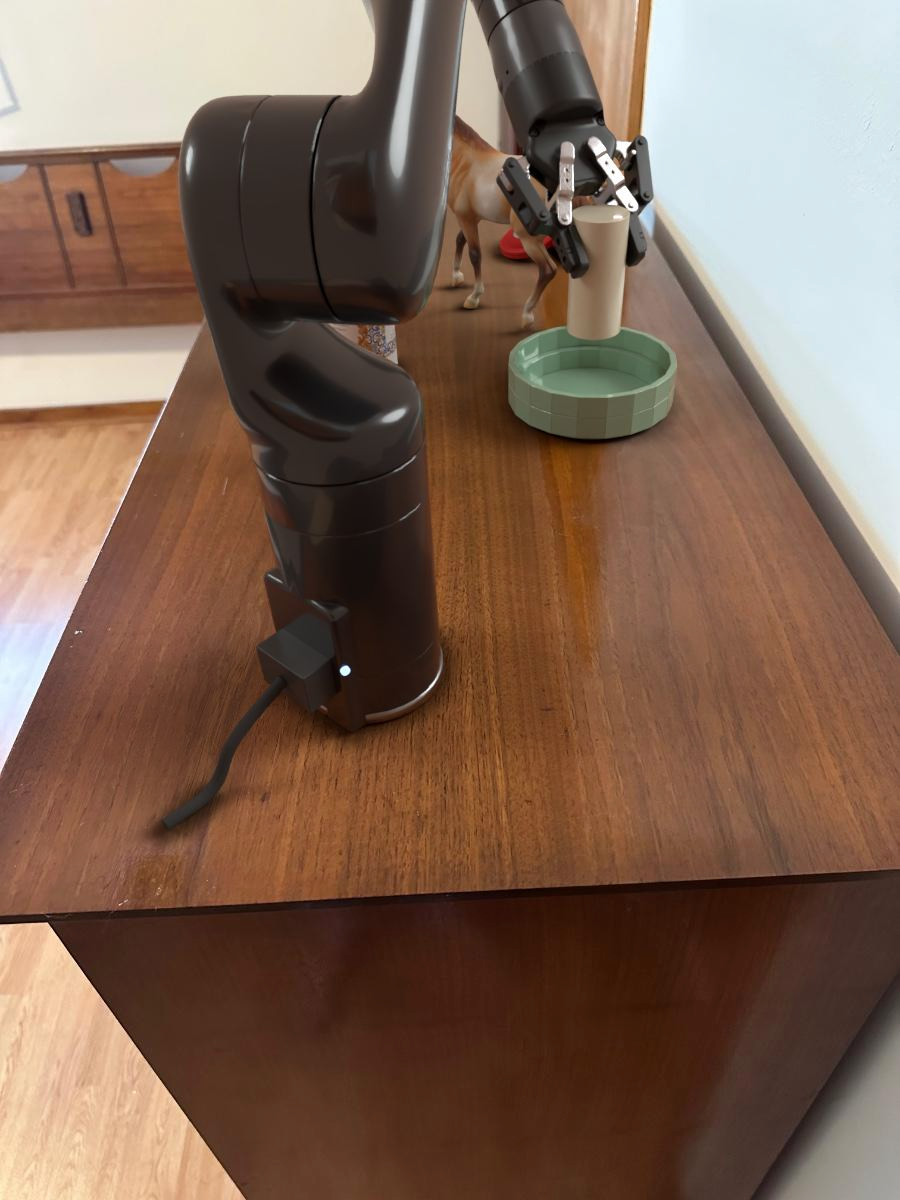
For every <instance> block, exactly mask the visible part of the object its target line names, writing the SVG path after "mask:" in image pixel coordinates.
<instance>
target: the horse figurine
mask: <svg viewBox="0 0 900 1200" xmlns="http://www.w3.org/2000/svg"><path fill="white" fill-rule="evenodd" d="M522 156H523V154H522V155H521V154H520V155H515V154H506V153H503V151H502V152H501V151H500V150H499V149H496V148H495V147H494V146H492V145H491V144H490V143H489V142H487V141H486V140H485V139H484V138H482V137H481V135H480V134H479V133H478V132H477V131H476V130H475V129H474V127H472V126H471V125H469V124H468V123H467V122H465V121H464V120H463V119H462V118H461V117H460V116H459V115H458V114H456V116H455V127H454V139H453V150H452V162H451V173H450V185H449V195H448V204H447V206H449V208H450V210H451V211H452V213H453V214H454V215H455V219H456V222H457V224H458V227H459V228H460V230H459V232H458V233H457V235H456V238H455V252H454V255H453V259H452V263H451V265H452V266H451V267H452V274H451V275H452V276H451V278H452V279H451V287H452V288H455V287H458V286H462V284H463V283H464V282H465V279H464V278H465V277H464V273H462V272H461V271H460V270H461V268H462V265H463V262H462V261H463V260H462V259H463V254H464V249H465V246H466V244H467V247H468V258H469V261H470V264H471V265H472V267H473V273H474V284H473V285H474V287H473V291H472V293H471V294H469V295H468V296H467V297H466V300H465V301H464V303H463V306H462V307H463V308H465V309H469V310H470V309H471V310H472V309H477V308H478V305H479V303H480V299H479V297H480V296H481V295H482V294H483V293H484V292H485V291H484V290H485V286H484V282H483V274H482V259H483V254H482V249H481V241H480V235H479V228H478V227H479V226H478V225H479V224H480V222H481V220H482V221H488V222H490V223H495V224H497V225H510V226H511V228H513V230H514V232H515V234H516V235H517V237H519V238H520V240H521V242H522V245H523V247H524V249H525V251H526V253H527V254H528V255H529V256H530V257H529V258H531V260H532V261H533V262H534V263H536V265H537V267H538V279H537V282H536V283H535V286H534V288H533V290H532V291H531V293H530V295H529V296H528V297H527V299H526V301H525V303H524V306H523V311H522V314H521V325H520V327H521V330H522V331H526V330H527V329H529V328H530V327H531V326H532V325H533V324H534V323H535V317H534V316H535V315H534V313H533V311H534V309H536V308H537V306H538V303H539V300H540V298H541V297H542V295H543V293H544V291H545V290H546V287H547V286H548V285H549V284H550V283H551V282H552V281H553V280H554V278H555V277H556V276H557V273H558V266H557V264H556V263H555V262H554V260H553V259H552V258H551V256H550V255H549V253H548V250H546V248H545V246H544V244H543V240H544V238H546V237H547V235H541V234H539V235H538V236H536V237H533V236H530V235H529V234H528V233H527V231H526V230H525V228H524V226H523V225H522V223H521V222H520V220H519V218H518V217H517V215H516V213H515V212H514V210H513V209H512V207H511V205H510V204H509V202H508V200H507V199H506V197H505V196H504V194H503V192H502V191H501V189H500V188H499V186H498V184H497V182H496V178H497V176H498V174H499V172H500V170H501V168H502V166H503V164H504V163H505V161H506V159H507V158H509V157H513V158H515V159H519V158H521V157H522ZM530 181H531V183H532V185H533V186H534V188H535V190H536V191H537V193H538V194H539V196H540V198H541V199H542V201H543V203H544V204H545V187H544V186H542V185H541V184H540V183H539V182H538V181H536V180H535V179H534V178H533V177H532V176H530ZM586 205H592V203H591V201H590V196H576V197H574V198H572V211H573V210H574V209H576V208H579V207H582V206H586ZM570 224H571V223H570Z"/></svg>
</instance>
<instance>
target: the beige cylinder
mask: <svg viewBox="0 0 900 1200" xmlns="http://www.w3.org/2000/svg"><path fill="white" fill-rule="evenodd" d="M629 220H630V212H629V210H627V209H626V208H624V207H621V206H617V205H610V204H595V203H591V205H586V206H582V207H579V208H576V209H574V210H573V211H572V222H571V226H573V225H576V228H577V230H578V233H579V236H580V239H581V242H582V244H583V247H584V250H585V253H586V256H587V259H588V262H589V269H588V270H587V272H586V273H585V274H584V275H583V276H582V277H581V278H577V279H572V277H571V275H570V273H568V283H567V284H568V285H567V306H566V308H567V310H566V326H567V331H568V333H569V334H570V335H572V336H574V337H577V338H580V339H585V340H603V339H608V338H611V337H614V336H616V335H617V334H618V333H619V332H620V330H621V327H622V317H623V303H624V293H625V292H624V291H625V279H626V268H627V265H626V257H627V245H628V233H629Z"/></svg>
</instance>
